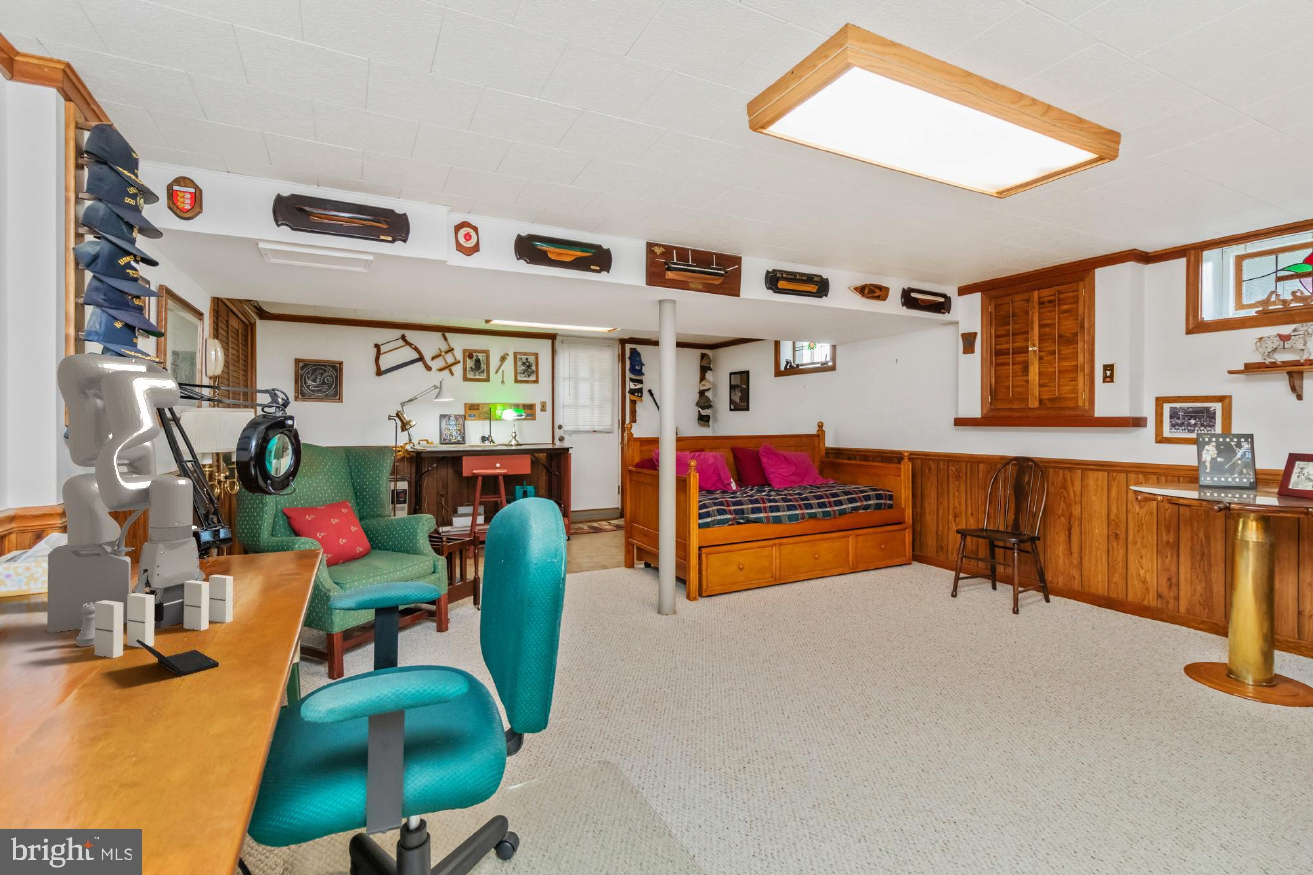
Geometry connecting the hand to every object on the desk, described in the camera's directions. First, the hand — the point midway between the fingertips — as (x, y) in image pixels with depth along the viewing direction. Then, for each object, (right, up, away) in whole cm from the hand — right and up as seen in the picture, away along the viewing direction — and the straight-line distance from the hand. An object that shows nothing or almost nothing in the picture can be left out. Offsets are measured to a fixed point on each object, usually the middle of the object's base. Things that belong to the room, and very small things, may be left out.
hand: (170, 615), depth 133 cm
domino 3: (0, -2, 0) cm, 2 cm away
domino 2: (+4, -2, -12) cm, 13 cm away
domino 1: (+2, -2, -18) cm, 18 cm away
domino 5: (+9, -2, +3) cm, 9 cm away
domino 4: (+7, -2, -2) cm, 8 cm away
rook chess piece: (-6, -2, -12) cm, 14 cm away
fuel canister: (-15, -2, 0) cm, 15 cm away
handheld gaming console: (+20, -3, -23) cm, 30 cm away
